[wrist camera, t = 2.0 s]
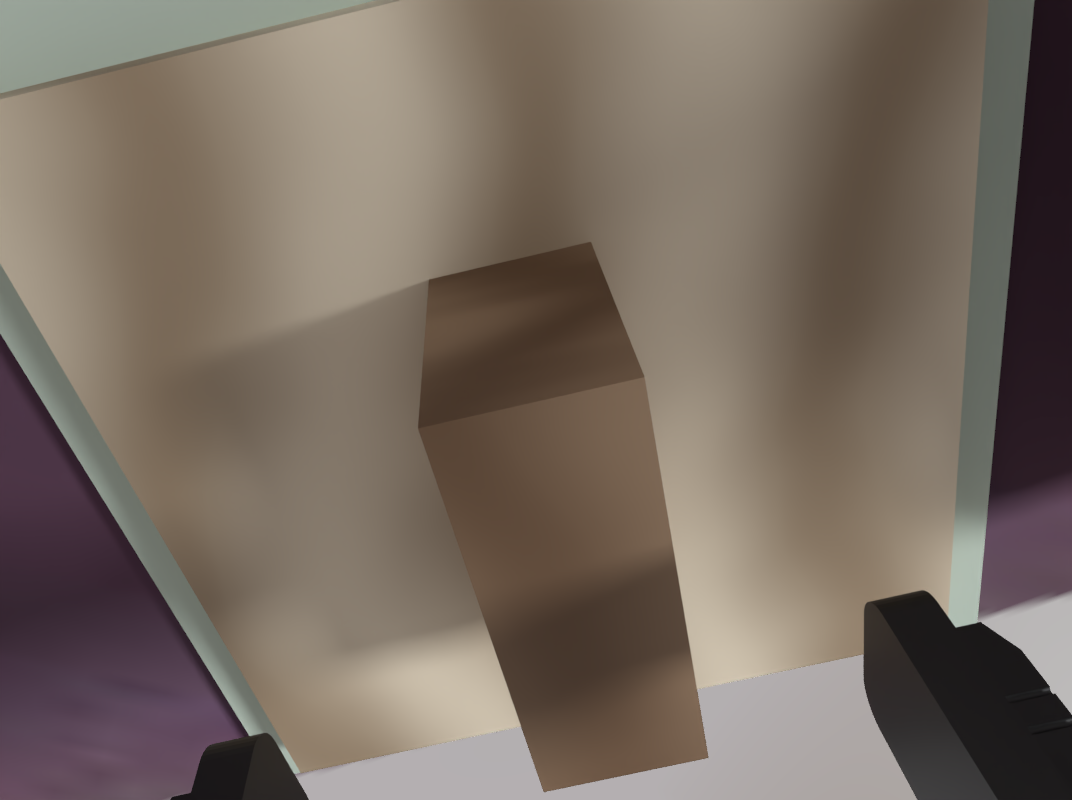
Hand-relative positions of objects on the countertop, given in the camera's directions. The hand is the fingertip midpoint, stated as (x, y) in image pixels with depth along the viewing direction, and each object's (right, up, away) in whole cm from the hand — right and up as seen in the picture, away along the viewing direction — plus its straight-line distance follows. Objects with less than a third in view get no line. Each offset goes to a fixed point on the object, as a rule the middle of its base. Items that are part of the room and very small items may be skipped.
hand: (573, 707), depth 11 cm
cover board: (0, +4, +7) cm, 8 cm away
